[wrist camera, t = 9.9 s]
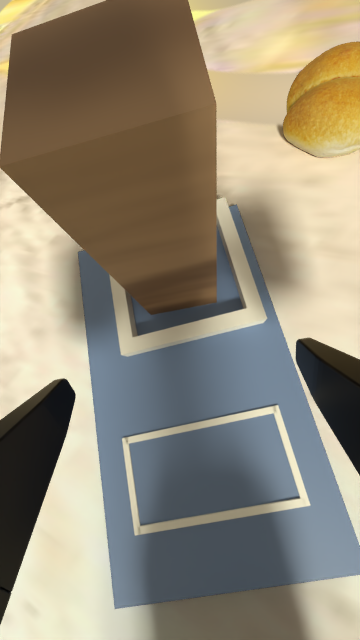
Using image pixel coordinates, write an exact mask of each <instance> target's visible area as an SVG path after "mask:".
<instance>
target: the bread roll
mask: <svg viewBox="0 0 360 640" xmlns="http://www.w3.org/2000/svg"><path fill="white" fill-rule="evenodd" d="M283 132H284V136H285V138H286V139H287V141H288V142H290V143H292V144H293V145H294V146H296V147H298V148H299V149H301V150H303V151H305V152H307V153H310V154H312V155H314V156H316V157H324V158H332V157H337V156H343V155H347V154H350V153H353V152H355V151H357V150H359V149H360V42H350V43H345V44H341V45H338V46H335V47H333V48H331V49H329V50H328V51H326V52H324V53H322V54H321V55H320V56H318V57H317V58H315V59H314V60H313V61H311V62H310V63H309V64H308V65H307V66H306V67H305V68H304V69H303V70H302V71H301V72H300V73H299V74H298V75H297V77H296V78H295V80H294V82H293V84H292V86H291V88H290V91H289V94H288V98H287V115H286V117H285V119H284V122H283Z"/></svg>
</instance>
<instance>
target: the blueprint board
mask: <svg viewBox="0 0 360 640" xmlns="http://www.w3.org/2000/svg"><path fill="white" fill-rule="evenodd" d="M216 200H217V303H212V304H206V305H201V306H196V307H191V308H185V309H180V310H175V311H170V312H164V313H159V314H154V315H150V314H149V313H148V312H147V311H146V310H145V309H144V308H143V307H142V306H141V305H140V304H139V303H138V302H137V301H136V300H135V299H134V298H133V297H132V296H131V295H130V294H129V293H128V292H127V291H126V290H125V289H124V288H123V287H122V286H121V285H120V284H119V283H118V282H117V281H116V280H115V279H114V278H113V277H112V276H111V275H110V274H109V273H107V272H106V271H105V270H104V269H103V268H102V267H101V266H100V265H99V264H98V263H97V262H96V261H95V260H94V259H93V258H92V257H91V256H90V255H89V254H88V253H87V252H86V251H85V250H83V251H80V252H78V258H79V267H80V277H81V287H82V296H83V306H84V316H85V325H86V335H87V345H88V354H89V364H90V374H91V383H92V393H93V403H94V413H95V422H96V432H97V442H98V451H99V461H100V471H101V480H102V490H103V500H104V509H105V519H106V529H107V539H108V548H109V558H110V568H111V577H112V587H113V597H114V606H115V609H118V608H125V607H132V606H139V605H147V604H154V603H161V602H168V601H175V600H182V599H189V598H197V597H204V596H211V595H218V594H225V593H232V592H239V591H247V590H254V589H261V588H268V587H275V586H282V585H289V584H297V583H304V582H311V581H318V580H325V579H332V578H339V577H347V576H354V575H360V545H359V543H358V540H357V537H356V534H355V532H354V529H353V526H352V523H351V520H350V518H349V515H348V512H347V509H346V507H345V504H344V501H343V498H342V495H341V493H340V490H339V487H338V484H337V482H336V479H335V476H334V473H333V470H332V468H331V465H330V462H329V459H328V457H327V454H326V451H325V448H324V446H323V443H322V440H321V437H320V434H319V432H318V429H317V426H316V423H315V421H314V418H313V415H312V412H311V409H310V407H309V404H308V401H307V398H306V396H305V393H304V390H303V387H302V384H301V382H300V379H299V376H298V373H297V371H296V368H295V365H294V362H293V359H292V357H291V354H290V351H289V348H288V346H287V343H286V340H285V337H284V334H283V332H282V329H281V326H280V323H279V321H278V318H277V315H276V312H275V310H274V307H273V304H272V301H271V298H270V296H269V293H268V290H267V287H266V285H265V282H264V279H263V276H262V273H261V271H260V268H259V265H258V262H257V260H256V257H255V254H254V251H253V248H252V246H251V243H250V240H249V237H248V235H247V232H246V229H245V226H244V223H243V221H242V218H241V215H240V212H239V210H238V207H237V205H233V206H230V207H228V204H227V201H226V198H225V197H223V198H219V199H216Z"/></svg>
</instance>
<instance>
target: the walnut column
mask: <svg viewBox="0 0 360 640" xmlns="http://www.w3.org/2000/svg"><path fill="white" fill-rule="evenodd" d="M0 168H1V169H2V170H3V171H4V172H5V173H6V174H7V175H8V176H9V177H10V178H11V179H12V180H13V181H14V182H15V183H16V184H17V185H18V186H19V187H20V188H21V189H22V190H24V191H25V192H26V193H27V194H28V195H29V196H30V197H31V198H32V199H33V200H34V201H35V202H36V203H37V204H38V205H39V206H40V207H41V208H42V209H43V210H44V211H45V212H46V213H47V214H48V215H49V216H50V217H51V218H52V219H53V220H54V221H55V222H56V223H57V224H58V225H59V226H60V227H61V228H62V229H63V230H64V231H66V232H67V233H68V234H69V235H70V236H71V237H72V238H73V239H74V240H75V241H76V242H77V243H78V244H79V245H80V246H81V247H82V248H83V249H84V250H85V251H86V252H87V253H88V254H89V255H90V256H91V257H92V258H93V259H94V260H95V261H96V262H97V263H98V264H99V265H100V266H101V267H102V268H103V269H104V270H105V271H106V272H107V273H109V274H110V275H111V276H112V277H113V278H114V279H115V280H116V281H117V282H118V283H119V284H120V285H121V286H122V287H123V288H124V289H125V290H126V291H127V292H128V293H129V294H130V295H131V296H132V297H133V298H134V299H135V300H136V301H137V302H138V303H139V304H140V305H141V306H142V307H143V308H144V309H145V310H146V311H147V312H148V313H149V314H150V315H154V314H159V313H164V312H170V311H175V310H180V309H185V308H191V307H196V306H201V305H206V304H212V303H217V200H216V101H215V97H214V93H213V90H212V86H211V83H210V79H209V75H208V72H207V68H206V64H205V61H204V57H203V53H202V50H201V46H200V42H199V39H198V35H197V32H196V28H195V24H194V21H193V17H192V13H191V10H190V6H189V2H188V0H106V1H103V2H101V3H98V4H95V5H92V6H90V7H87V8H84V9H81V10H79V11H76V12H73V13H70V14H68V15H65V16H62V17H59V18H56V19H54V20H51V21H48V22H45V23H43V24H40V25H37V26H34V27H32V28H29V29H26V30H23V31H20V32H18V33H15V34H12V39H11V49H10V59H9V70H8V80H7V90H6V101H5V111H4V121H3V132H2V142H1V152H0Z"/></svg>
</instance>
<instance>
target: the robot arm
mask: <svg viewBox="0 0 360 640" xmlns="http://www.w3.org/2000/svg"><path fill="white" fill-rule="evenodd" d="M296 362H297V365H298V367H299V369H300V371H301V373H302V375H303V377H304V380H305V382H306V384H307V386H308V388H309V390H310V393H311V395H312V397H313V399H314V401H315V403H316V404H317V406H318V408H319V409H320V411H321V413H322V414H323V416H324V418H325V419H326V421H327V423H328V424H329V426H330V427H331V429H332V431H333V432H334V434H335V436H336V437H337V439H338V441H339V442H340V444H341V446H342V447H343V449H344V450H345V452H346V454H347V455H348V457H349V459H350V460H351V462H352V464H353V465H354V467H355V468H356V470H357V472H358V473H359V475H360V359H357V358H355V357H353V356H350V355H348V354H346V353H344V352H341V351H339V350H337V349H334V348H332V347H330V346H328V345H325V344H323V343H321V342H318V341H316V340H314V339H312V338H303V339H298V340H297V342H296ZM74 402H75V392H74V390H73V389H72V387H71V385H70V384H69V382H68V381H67V380H66V379H57V380H54V381H53V382H51V383H50V384H49V385H47V386H46V387H44V388H43V389H42V390H40V391H39V392H38V393H36V394H35V395H34V396H32V397H31V398H30V399H28V400H27V401H26V402H24V403H23V404H21V405H20V406H19V407H17V408H16V409H15V410H13V411H12V412H11V413H9V414H8V415H7V416H5V417H4V418H3V419H1V420H0V624H1V621H2V619H3V616H4V613H5V610H6V607H7V604H8V601H9V599H10V596H11V591H12V589H13V587H14V584H15V581H16V578H17V575H18V572H19V569H20V566H21V564H22V561H23V558H24V555H25V552H26V549H27V546H28V544H29V541H30V538H31V535H32V532H33V529H34V526H35V523H36V521H37V518H38V515H39V512H40V509H41V506H42V503H43V501H44V498H45V495H46V492H47V489H48V486H49V483H50V481H51V478H52V475H53V472H54V469H55V466H56V463H57V460H58V458H59V455H60V452H61V449H62V446H63V443H64V440H65V437H66V434H67V430H68V426H69V422H70V418H71V414H72V410H73V406H74Z"/></svg>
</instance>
